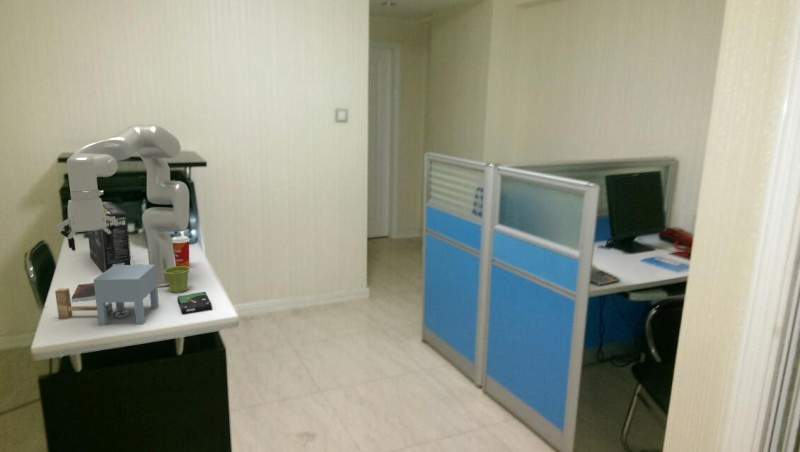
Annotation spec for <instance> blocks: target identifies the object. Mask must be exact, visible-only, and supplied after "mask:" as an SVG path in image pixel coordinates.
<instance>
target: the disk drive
mask: <svg viewBox="0 0 800 452" xmlns="http://www.w3.org/2000/svg"><path fill="white" fill-rule="evenodd" d="M176 299H177V304H178V306H179V308H180V313H181V314H182V315H189V314H190V315H191V314H195V313H201V312H208V311H213V304H212V302H211V300H210V299H209V297H208V294H207V293H206V291H201V292H194V293H190V294H183V295H178V296H177V297H176Z"/></svg>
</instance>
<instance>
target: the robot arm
mask: <svg viewBox="0 0 800 452" xmlns="http://www.w3.org/2000/svg"><path fill="white" fill-rule="evenodd" d="M180 153H181V143H180V141H179V139H178V138H177V137H176V136H175V135H173V134H172V133H171V132H169V131H168V130H166V129H165V128H163V127H162V126H160V125H156V124H131V125H128V126H127V127H126V128H124V129H122V130H121V131H120V132H118V133H117V134H116V135H114V136H113V137H110V138H107V139H103V140H99V141H97V142H93V143H90V144H88V145H84V146H83V147H81V148H79V149H78V150H76V151H75V152H74V153H72V154H71V156H70V157H69V158H67V160H66V166H67V168H66V169H67V174H68V183H69V190H70V199H69V200H68V202H67V219H65V220H63V221H62V222H60V223H58V224H56V225H55V228H56V229H57V230H58V232H59V233H60V234H61V235H62V236H63V237H66V238H67V241H68V249H71V250H72V252H75V251H76V243H75V242H76V241H75V238H74V236H75V235H76V233H79V232H80V233H82V232H83V233H84V232H88V231H92V230H100V229H103V230H104V231H105V233H104V241H105V245H106V246H109V243H111V238H110V234H111V232H112V231H113V230H114V229H115V227H116V225H117V222H118V220H117V219H115V218H112V217H109V216H106V215H105V211H104V207H103V203H102V202H103V200H102V198H101V197H100V196H102V195H104V190H99V189H98V180H97V178H108V177H112V176H113V175H115V174H116V173H117V170H118V169H119V168H118V167H119V165H118V161H119V162H121V161H123V160H127V159H129V158H131V157H132V156H133V155H134V154H137V155H138V156H139V157H140V159H141V160H142V161H143V163H144V165H145V168H146V198H147V201H148V202H149V203H152V204H154V205H155V204H157V205H172V207H159V206H158V207H157V206H155V207H154V206H153V207H149V208H147V209H146V210H144V211H143V213H142V214H141V221H142V226H143V228H144V231H145V232H144V233H145V238H146V245H147V257H148V265H155V269H156V280H157V288H163V287H164V288H165V287H169V282H168V279H167V276H166V273H165V272H164V270H166V269H168V268H171V267H176V265H175V259H174V252H173V241H172V238H173V237H172V236H171V234H170V233H169V232H175V233H177V232H184V231H186V230H187V229H188V227H189V221H190V190H189V188H188V186H187V184H186V183H185V182H183V181H181V180H171V168H170V166H169V164H168V163H167V161H166V160H165V159H175V158H177V157H179V155H180ZM106 220H109V221H112V224H111V225H110V226H109V227H108V228H106V226H107V223H106ZM65 226H68V228H69V230H68V231H66V230H64V227H65Z"/></svg>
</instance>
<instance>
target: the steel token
mask: <svg viewBox="0 0 800 452" xmlns="http://www.w3.org/2000/svg"><path fill="white" fill-rule="evenodd" d="M129 316H130V310H128V309H117V310H115V311H113V312H112V318H113V319H117V320H119V319H125V318H127V317H129Z"/></svg>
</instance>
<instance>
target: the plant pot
mask: <svg viewBox="0 0 800 452" xmlns="http://www.w3.org/2000/svg"><path fill="white" fill-rule="evenodd" d="M164 272H165V273H166V276H167V279H168V282H169V286H168V287H169V290H170V292H172V293H174V294H175V293H176V294H178V293H183V292H186V291H187V290H188V279H189V278H188V277H189V274H190V266H189V267H185V266H177V267H176V266H175V267H171V268H168V269H166V270H164Z"/></svg>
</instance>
